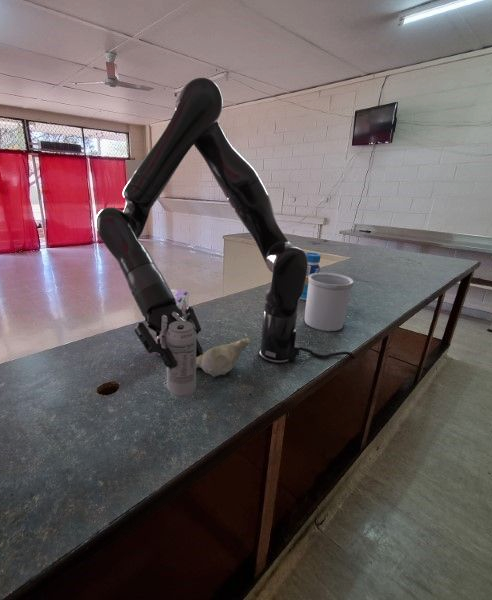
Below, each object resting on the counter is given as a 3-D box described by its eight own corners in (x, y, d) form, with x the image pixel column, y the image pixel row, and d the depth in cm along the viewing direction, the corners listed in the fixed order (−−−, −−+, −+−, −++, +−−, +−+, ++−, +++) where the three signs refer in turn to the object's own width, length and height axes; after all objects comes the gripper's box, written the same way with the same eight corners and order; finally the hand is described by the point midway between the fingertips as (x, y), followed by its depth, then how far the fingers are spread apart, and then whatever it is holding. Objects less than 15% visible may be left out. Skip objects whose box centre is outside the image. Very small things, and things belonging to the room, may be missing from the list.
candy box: (176, 358, 91) (176, 305, 85) (157, 356, 92) (155, 303, 86) (189, 337, 104) (189, 289, 98) (171, 335, 105) (171, 288, 99)
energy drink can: (197, 382, 69) (198, 320, 64) (193, 400, 64) (194, 333, 58) (170, 380, 70) (169, 318, 64) (164, 397, 64) (162, 331, 59)
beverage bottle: (293, 294, 147) (299, 252, 140) (311, 294, 148) (317, 252, 141) (300, 301, 139) (307, 256, 132) (319, 300, 140) (326, 256, 133)
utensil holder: (337, 336, 107) (347, 287, 101) (296, 324, 116) (302, 278, 109) (349, 322, 118) (358, 277, 112) (310, 312, 127) (317, 270, 120)
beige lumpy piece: (191, 389, 81) (237, 367, 74) (180, 363, 83) (224, 338, 76) (220, 378, 94) (261, 358, 87) (210, 355, 96) (250, 334, 89)
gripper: (125, 288, 59) (165, 369, 55) (184, 274, 69) (222, 342, 65) (114, 306, 65) (149, 381, 61) (170, 291, 74) (203, 355, 70)
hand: (186, 361), depth 63 cm, fingers closed on energy drink can, 6 cm apart
